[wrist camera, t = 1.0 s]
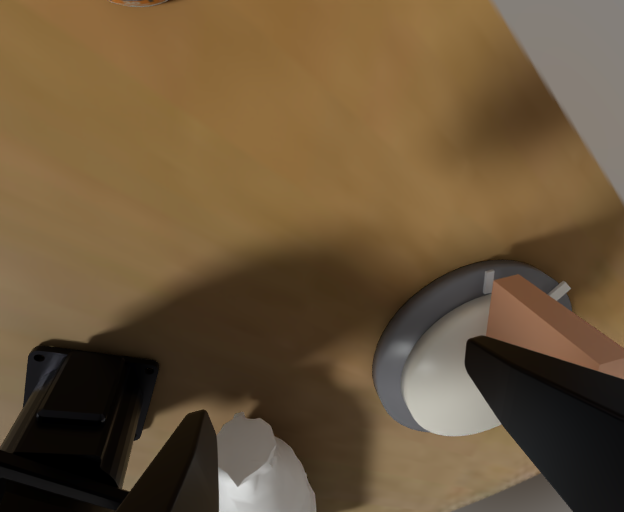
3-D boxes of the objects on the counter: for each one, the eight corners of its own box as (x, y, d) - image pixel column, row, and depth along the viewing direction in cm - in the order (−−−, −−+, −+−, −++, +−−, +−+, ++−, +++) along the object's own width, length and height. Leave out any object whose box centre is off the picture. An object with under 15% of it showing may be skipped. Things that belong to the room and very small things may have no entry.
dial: (540, 398, 29) (638, 501, 23) (401, 439, 28) (459, 562, 21) (580, 246, 23) (736, 325, 16) (399, 289, 21) (484, 397, 14)
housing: (488, 426, 32) (499, 440, 31) (339, 411, 27) (345, 427, 26) (597, 286, 27) (614, 296, 26) (436, 234, 22) (448, 244, 21)
